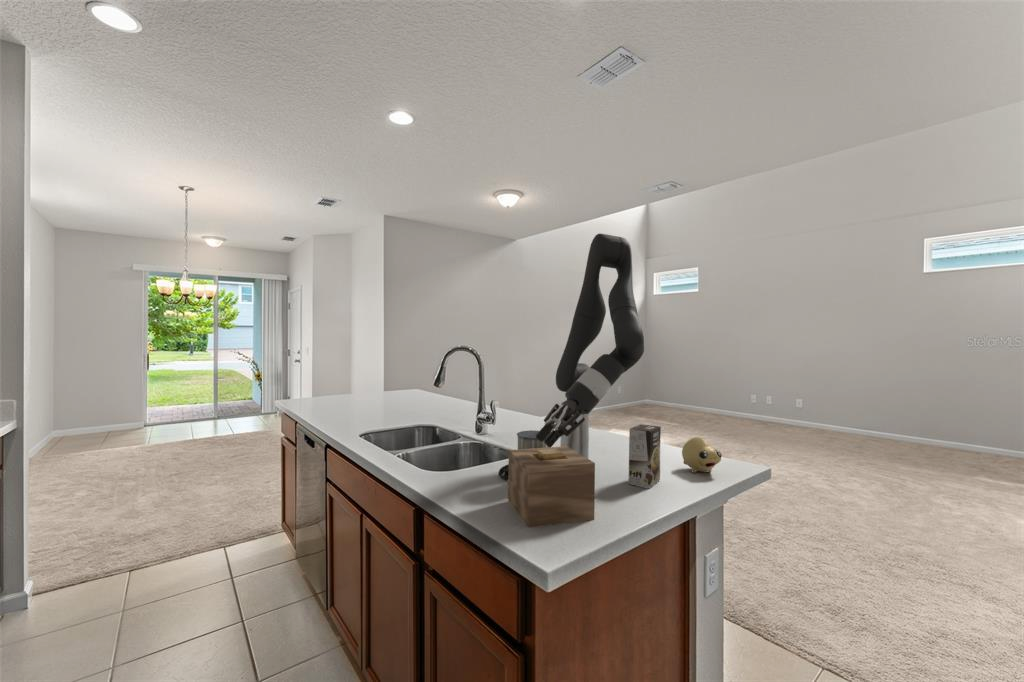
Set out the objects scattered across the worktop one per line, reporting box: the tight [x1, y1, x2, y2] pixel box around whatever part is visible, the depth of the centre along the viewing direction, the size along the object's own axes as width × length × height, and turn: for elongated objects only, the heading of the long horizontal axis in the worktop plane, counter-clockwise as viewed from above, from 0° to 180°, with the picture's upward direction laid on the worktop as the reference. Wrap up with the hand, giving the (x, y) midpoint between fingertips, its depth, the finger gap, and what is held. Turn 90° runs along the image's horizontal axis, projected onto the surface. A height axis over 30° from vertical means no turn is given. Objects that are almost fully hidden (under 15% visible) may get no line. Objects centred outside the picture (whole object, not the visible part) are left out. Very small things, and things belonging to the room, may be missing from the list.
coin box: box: [507, 446, 596, 528], centre depth 105 cm, size 16×16×13 cm
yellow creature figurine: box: [681, 436, 723, 473], centre depth 136 cm, size 10×12×11 cm
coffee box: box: [628, 424, 662, 489], centre depth 126 cm, size 9×6×16 cm
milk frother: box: [498, 430, 548, 481], centre depth 125 cm, size 14×16×15 cm
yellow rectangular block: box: [537, 449, 563, 461], centre depth 105 cm, size 4×5×9 cm
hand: (542, 441), depth 105 cm, fingers open, 5 cm apart
